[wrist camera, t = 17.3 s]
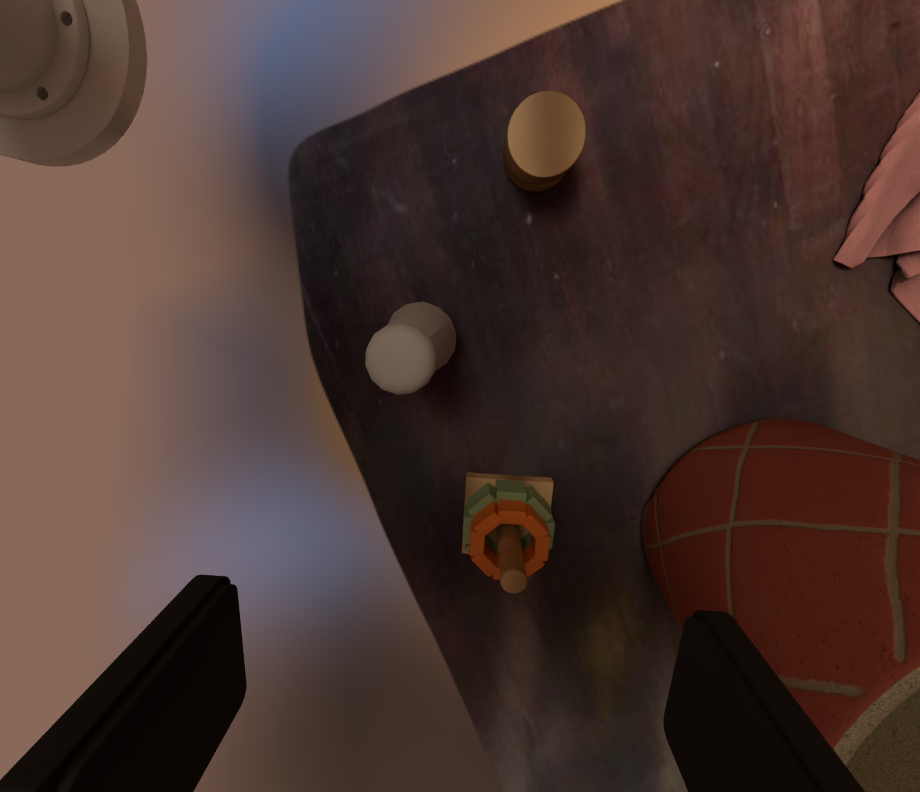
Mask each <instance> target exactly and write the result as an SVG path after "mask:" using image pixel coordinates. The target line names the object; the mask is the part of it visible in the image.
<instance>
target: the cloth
mask: <svg viewBox="0 0 920 792" xmlns="http://www.w3.org/2000/svg"><path fill="white" fill-rule="evenodd" d="M895 254H899V255H898V258H897V261H896V264H897V267H898V269H897V271H896V273H895V274H894V276H893V280H892V285H891V289H890V290H891V292H892V294H893V295H894V297H895V298H896V299H897V300H898V301H899V302H900V303H901V304H902V306H903V307H904V308H905V309H906V310H907V311H908V312H909V313H910V314H911V315H912V316H913V317H914V318H915V319H916V320H917V321H918V322H919V323H920V91H919V93H918V94H917V96H916V97H915V99H914V101H913V104H912V105H911V106H910V107H909V108H908V109H907V110H906V111H905V113H904V114H903V116H902V117H901V119H900V120H899V122H898V123H897V127H896V130H895V133H894V134H893V135H892V137H891V138H890V140H889V141H888V142H887V144H886V145H885V146H884V148H883V151H882V153H881V156H880V158H879V162H878V166H877V167H876V168H875V169H874V171H873V172H872V174H871V175H870V177H869V178H868V180H867V181H866V183H865V186H864V190H863V193H862V198H861V203H860V204H859V206H858V207H857V209H856V211H855V212H854V214H853V216H852V217H851V220H850V222H849V225H848V228H847V233H846V238H845V242H844V244H843V245H842V247H841V248H840V250H839V252H838V253H837V255H836V256H835V258H834V259H833V260H834V261H837V262H840V263H842V264H844V265H846V266H848V267H850V268H854V267H855V266H857V265H859V264H861V263H863V262H864V261H865V259H866V258H870V257H882V256H889V255H895Z"/></svg>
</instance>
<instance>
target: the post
mask: <svg viewBox="0 0 920 792" xmlns="http://www.w3.org/2000/svg"><path fill="white" fill-rule="evenodd" d="M496 480H509V481H524V483H525V488H527V487H528V486H529V485H532V486H533V487H534V488H535V489H536V491H537V492H538V493H539V494H540V495H541V496H542V497H543V498H544V499H545V500H546V501H547V502H548V503H549V506H550V510H551V503H552V494H553V485H554V483H553V480H552V478H549V477H534V476H518V475H502V474H486V473H471V472H467V473H466V488H465V504H467V505H468V498H469V497H470V496H471V495H473V494H474V493H475V492H476V491H478V490H479V489H480V488H482V487H483V486H484V485H485V484H487V483H488V482H490V483H491V484H492V486H493V487H494V488H495V482H496ZM528 533H529V531H528V530H527V529H526V528H525V527H524V526H523V525H516V524H500V525H499V526H497V527H496V528H495V529H493V530H492V531H491V532H489V533H488V534H487V535H488V536H489V537H490V538H491V539H492V540H493V541H494V542H497V543H498V556H499V569H500V583H501V586H502V588H503V589H504V590H505V591H506V592H509V593H513V594H515V593H520V592H522V591H523V590H524V589H525V588H526V586H527V582H528V581H527V575H526V569H525V562H524V556H523V550H522V544H521V538H522V537H524V536H525V535H526V534H528ZM462 553H465V554H469V553H468V552H467V551H466V550H465V543H462Z"/></svg>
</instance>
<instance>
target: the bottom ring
mask: <svg viewBox="0 0 920 792" xmlns="http://www.w3.org/2000/svg"><path fill="white" fill-rule="evenodd" d="M498 499H502V500H517V501H524V503H525V505H527V504H528V503H529V504H530V505H531V506H532V507H533V508H534V509H535V510H536V511H537V512H538V513H539V515H540V516H541V517H542V518H543V519H544V520H545V522H546V525H547V528H548V531H549V535H550V544H549V549H552V546H553V537H554V529H555V522H554V519H553V516H552V513H551V510H550V506H549V503H548V502H547V501H546V500H545V499H544V498H543V497H542V496H541V495H540V494H539V493H538V492H537V491H536V489H535V488H534V487H533V486H532V485H529V486H528V487H527V488H525V483H524V481H509V480H496V482H495V488H494V487H493V486H492V484H491V483H490V482H488V483H487V484H485V485H484V486H483V487H482V488H480V489H479V490H478V491H476V492H475V493H474V494H473V495H471V496H470V497H469V498H468V505H467V504H465V505H464V522H463V538H462V543H465V550H466V551H467V552H468V553H469V554H470V532H471V520H473V518H474V515H475V514H477V513H478V512H479V511H480V510H482V509H483V508H484V507H485V506H487V505H488V504H489V503H491V502H492V501H494V502H495V503H496V504H497V501H498ZM531 540H532V535H531V534H530V533H528V534H526V535H525V536H524V537H522V538H521V544H522V550H524V549H525V548H526V547H528V546H529V545H530V544H531ZM485 543H486V544H487V545H488V546H489V547H490V548H491V549H492V550H493V551H494V552H495V553H496V554H498V543H497V542H494V541H493V540H492V539H491V538H490V537H489V536H488V535H485Z"/></svg>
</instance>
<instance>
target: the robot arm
mask: <svg viewBox="0 0 920 792" xmlns="http://www.w3.org/2000/svg"><path fill="white" fill-rule="evenodd" d="M88 55H89V33H88V23H87V18H86V14H85V11H84V7H83V3H82V0H0V115H4V116H7V117H11V118H15V119H34V118H39V117H44V116H47V115H49V114H51V113H53V112H55V111H57V110H59V109H60V108H61V107H62V106H64V105H65V104H66V103H67V102H69V100H70V99H71V98H72V96H73V95H74V94H75V92H76V91H77V90H78V88H79V86H80V83H81V81H82V79H83V77H84V74H85V70H86V66H87V62H88ZM245 692H246V674H245V664H244V654H243V643H242V634H241V622H240V612H239V601H238V591H237V587H236V586H235V585H233V584H231V583H230V580H229V578H228V577H225V576H213V575H197V576H196V577H195V578H193V579H192V580H191V581H190V582H189V583H188V584H187V585H186V586H185V587H184V588H183V590H181V592H180V593H179V594H178V595H177V596H176V597H175V598H174V599H173V600H172V601H171V602H170V603H169V604H168V605H167V606H166V607H165V608H164V609H163V610H162V611H161V612H160V614H159V615H158V616H157V617H156V618H155V619H154V620H153V621H152V622H151V623H150V624H149V625H148V626H147V627H146V628H145V629H144V630H143V631H142V633H140V634H139V635H138V637H137V638H136V639H135V640H134V641H133V642H132V643H131V644H130V645H129V646H128V647H127V648H126V649H125V650H124V651H123V652H122V653H121V654H120V655H119V656H118V658H116V660H115V661H114V662H113V663H112V664H111V665H110V666H109V667H108V668H107V669H106V670H105V671H104V672H103V673H102V674H101V675H100V676H99V678H97V680H96V681H95V682H94V683H93V684H92V685H91V686H90V687H89V688H88V689H87V690H86V691H85V692H84V693H83V694H82V695H81V696H80V697H79V698H78V699H77V700H76V701H75V702H74V704H73V705H72V706H71V707H70V708H69V709H68V710H67V711H66V712H65V713H64V714H63V715H62V716H61V717H60V718H59V719H58V721H56V722H55V723H54V725H52V727H51V728H50V729H49V730H48V731H47V732H46V733H45V734H44V735H43V736H42V737H41V738H40V739H39V740H38V741H37V742H36V743H35V744H34V745H33V746H32V747H31V749H30V750H29V751H28V752H27V753H26V754H25V755H24V756H23V757H22V758H21V759H20V760H19V761H18V762H17V763H16V764H15V765H14V766H13V767H12V768H11V769H10V770H9V772H8V773H7V774H6V775H5V776H4V777H3V778H2V779H1V780H0V792H193V791H194V790H195V788H196V786H197V784H198V782H199V780H200V779H201V777H202V775H203V773H204V771H205V770H206V768H207V766H208V764H209V763H210V760H211V759H212V757H213V755H214V754H215V752H216V750H217V748H218V746H219V745H220V743H221V741H222V739H223V737H224V735H225V734H226V732H227V730H228V728H229V727H230V725H231V723H232V721H233V719H234V718H235V716H236V714H237V712H238V710H239V709H240V707H241V705H242V702H243V700H244V697H245ZM664 731H665V735H666V738H667V741H668V743H669V746H670V748H671V751H672V753H673V756H674V758H675V760H676V763H677V765H678V768H679V770H680V773H681V775H682V777H683V780H684V782H685V785H686V787H687V790H688V792H865V791H864V789H863V788H862V787H861V785H860V784H859V783H858V782H857V780H856V779H855V778H854V776H853V775H852V774H851V772H850V771H849V770H848V768H847V767H846V766H845V764H844V763H843V762H842V760H841V759H840V758H839V756H838V755H837V754H836V752H835V751H834V750H833V748H832V747H831V746H830V745H829V743H828V742H827V741H826V739H825V738H824V737H823V735H822V734H821V733H820V731H819V730H818V729H817V727H816V726H815V725H814V723H813V722H812V721H811V719H810V718H809V717H808V715H807V714H806V713H805V712H804V710H803V709H802V708H801V706H800V705H799V704H798V702H797V701H796V700H795V698H794V697H793V696H792V694H791V693H790V692H789V690H788V689H787V688H786V686H785V685H784V684H783V682H782V681H781V680H780V678H779V677H778V676H777V675H776V673H775V672H774V671H773V669H772V668H771V667H770V665H769V664H768V663H767V661H766V660H765V659H764V657H763V656H762V655H761V653H760V652H759V651H758V649H757V648H756V647H755V645H754V644H753V643H752V642H751V640H750V639H749V638H748V636H747V635H746V634H745V632H744V631H743V630H742V628H741V627H740V626H739V624H738V623H737V622H736V620H735V619H734V618H733V617H732V616H731V615H730V614H729V613H727V612H721V611H707V610H696V611H695V612H694V614H693V617H687V619H686V620H685V623H684V628H683V632H682V637H681V641H680V646H679V650H678V655H677V659H676V664H675V668H674V673H673V677H672V682H671V686H670V691H669V695H668V700H667V704H666V709H665V713H664Z"/></svg>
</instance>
